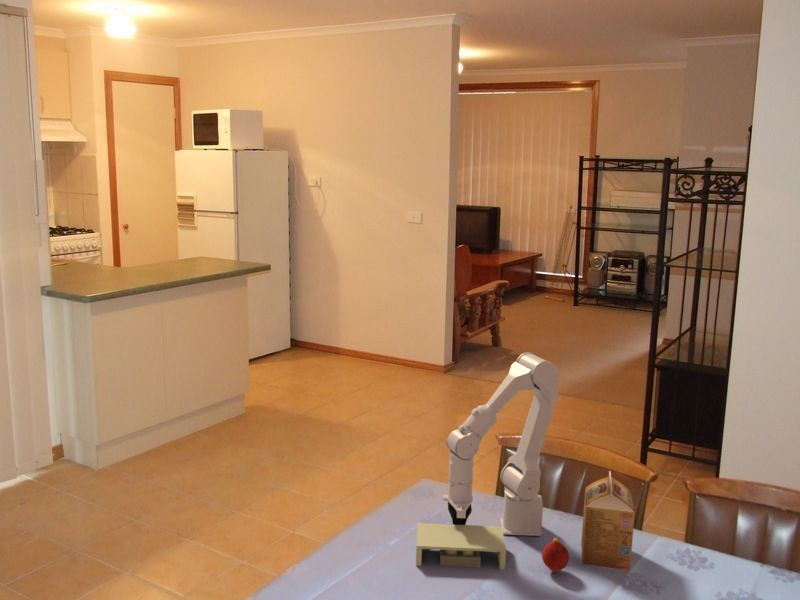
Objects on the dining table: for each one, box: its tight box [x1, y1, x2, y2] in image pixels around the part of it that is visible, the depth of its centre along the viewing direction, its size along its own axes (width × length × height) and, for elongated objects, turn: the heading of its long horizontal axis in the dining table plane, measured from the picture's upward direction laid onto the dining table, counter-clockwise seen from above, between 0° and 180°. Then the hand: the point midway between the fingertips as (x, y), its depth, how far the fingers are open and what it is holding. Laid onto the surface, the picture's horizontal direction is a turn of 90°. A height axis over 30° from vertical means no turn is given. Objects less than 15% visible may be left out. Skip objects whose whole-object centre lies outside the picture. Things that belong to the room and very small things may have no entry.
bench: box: [415, 522, 507, 570], centre depth 177 cm, size 20×11×5 cm, turn 88°
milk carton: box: [581, 470, 636, 571], centre depth 177 cm, size 10×11×19 cm
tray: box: [439, 549, 482, 568], centre depth 178 cm, size 9×11×3 cm
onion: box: [541, 537, 570, 573], centre depth 171 cm, size 6×6×8 cm
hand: (458, 532), depth 185 cm, fingers closed
